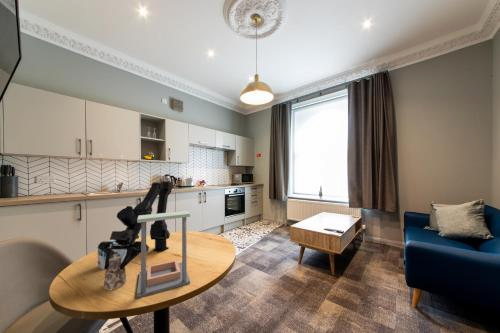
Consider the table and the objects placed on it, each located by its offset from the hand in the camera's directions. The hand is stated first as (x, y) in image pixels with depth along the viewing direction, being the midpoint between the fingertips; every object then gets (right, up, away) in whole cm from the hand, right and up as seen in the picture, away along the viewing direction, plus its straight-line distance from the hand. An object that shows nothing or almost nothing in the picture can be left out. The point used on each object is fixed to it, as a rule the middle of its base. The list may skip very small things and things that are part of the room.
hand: (112, 269), depth 72 cm
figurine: (0, -7, +1) cm, 7 cm away
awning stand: (+17, -7, +6) cm, 19 cm away
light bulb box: (-14, -8, +19) cm, 24 cm away
